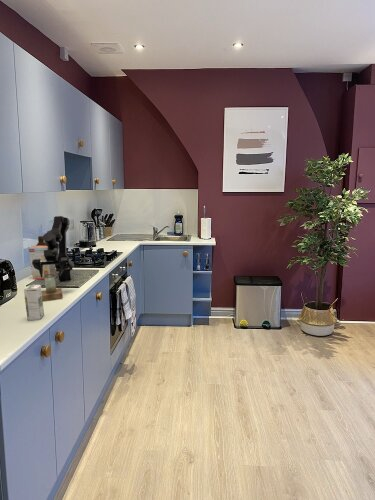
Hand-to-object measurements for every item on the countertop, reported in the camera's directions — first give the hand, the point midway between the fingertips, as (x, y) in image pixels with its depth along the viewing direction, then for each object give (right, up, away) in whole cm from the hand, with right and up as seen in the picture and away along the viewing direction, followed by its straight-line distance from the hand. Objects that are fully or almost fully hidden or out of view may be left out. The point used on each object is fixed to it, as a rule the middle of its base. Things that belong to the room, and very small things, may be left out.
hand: (50, 276), depth 198 cm
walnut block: (+1, -11, 0) cm, 11 cm away
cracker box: (-18, -4, +41) cm, 45 cm away
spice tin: (+1, -8, 0) cm, 8 cm away
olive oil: (-24, -2, +56) cm, 61 cm away
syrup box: (+4, -17, -29) cm, 33 cm away
